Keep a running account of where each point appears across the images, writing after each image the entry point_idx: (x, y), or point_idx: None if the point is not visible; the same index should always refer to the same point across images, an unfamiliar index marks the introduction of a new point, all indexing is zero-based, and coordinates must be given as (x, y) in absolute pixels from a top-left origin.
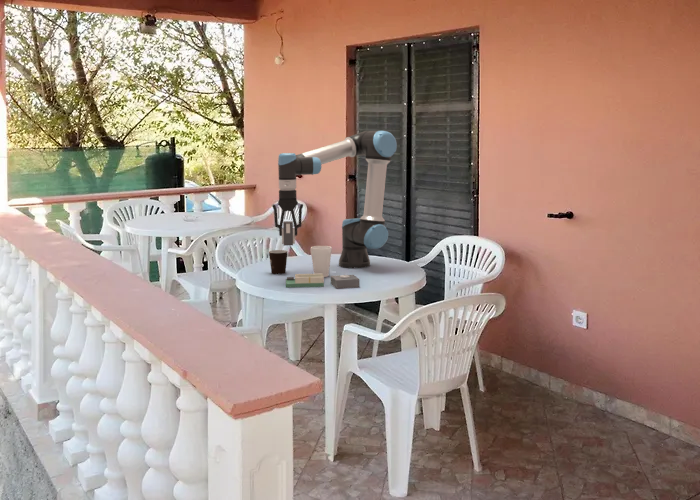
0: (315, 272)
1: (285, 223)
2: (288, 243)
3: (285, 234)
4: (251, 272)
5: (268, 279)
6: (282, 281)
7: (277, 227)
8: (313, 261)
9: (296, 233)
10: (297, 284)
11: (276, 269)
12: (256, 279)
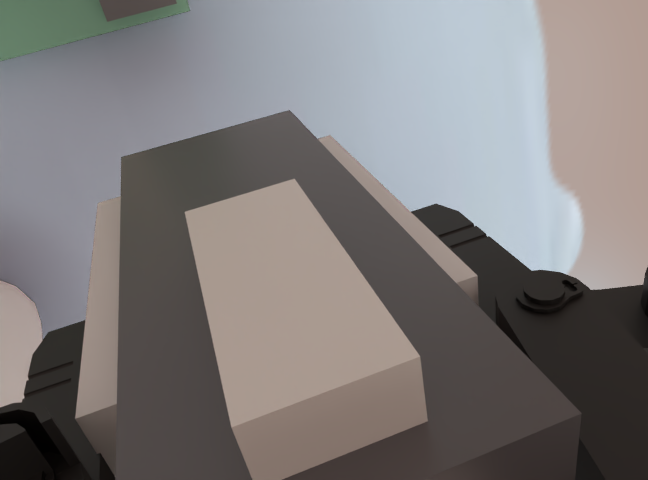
0: (3, 299)
1: (460, 413)
2: (209, 144)
3: (314, 200)
4: None
5: (360, 97)
6: (227, 36)
7: (619, 290)
8: (1, 357)
9: (50, 365)
10: None
11: None
12: (446, 80)
